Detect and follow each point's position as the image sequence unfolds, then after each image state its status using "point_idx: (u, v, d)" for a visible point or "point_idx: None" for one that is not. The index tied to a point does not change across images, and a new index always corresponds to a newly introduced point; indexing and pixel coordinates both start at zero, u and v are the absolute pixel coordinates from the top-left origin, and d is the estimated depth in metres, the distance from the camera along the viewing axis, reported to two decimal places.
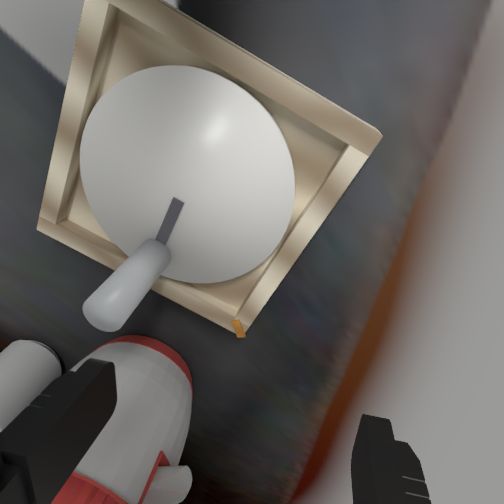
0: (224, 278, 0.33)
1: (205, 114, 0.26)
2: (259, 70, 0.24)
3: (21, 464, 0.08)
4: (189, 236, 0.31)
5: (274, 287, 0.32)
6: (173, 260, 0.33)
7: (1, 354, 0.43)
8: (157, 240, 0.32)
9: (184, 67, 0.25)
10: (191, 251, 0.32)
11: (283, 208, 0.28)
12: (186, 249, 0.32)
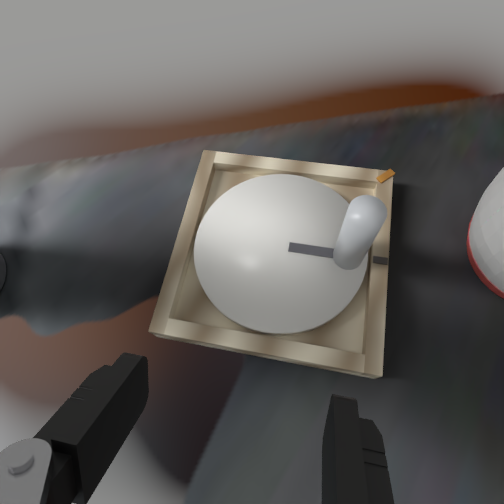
0: (342, 199, 0.39)
1: (220, 243, 0.38)
2: (186, 220, 0.39)
3: (70, 452, 0.09)
4: (316, 233, 0.37)
5: (330, 165, 0.41)
6: None
7: None
8: (332, 255, 0.36)
9: (195, 262, 0.37)
10: (330, 228, 0.38)
11: (265, 180, 0.41)
12: (330, 232, 0.37)
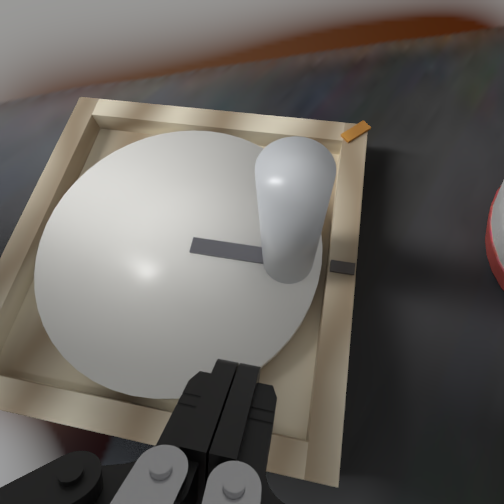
0: None
1: (81, 239, 0.23)
2: (34, 202, 0.24)
3: (198, 460, 0.09)
4: (240, 222, 0.23)
5: (270, 117, 0.26)
6: None
7: None
8: (261, 259, 0.21)
9: (35, 271, 0.22)
10: None
11: (167, 140, 0.26)
12: None
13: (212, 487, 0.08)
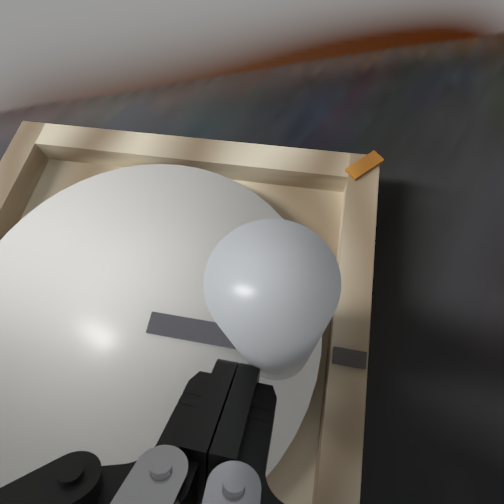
0: (273, 214, 0.19)
1: (8, 313, 0.18)
2: None
3: (199, 460, 0.09)
4: None
5: (255, 146, 0.21)
6: None
7: None
8: None
9: None
10: None
11: (126, 177, 0.20)
12: None
13: (212, 487, 0.08)
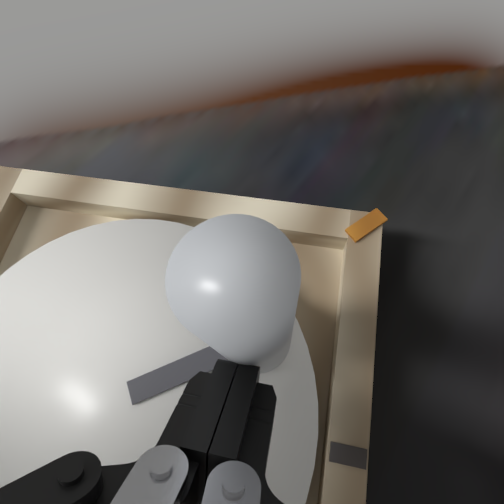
0: (187, 229, 0.19)
1: None
2: None
3: (199, 460, 0.09)
4: (173, 325, 0.17)
5: (248, 200, 0.19)
6: None
7: None
8: (227, 358, 0.16)
9: None
10: None
11: (21, 273, 0.18)
12: None
13: (212, 487, 0.08)
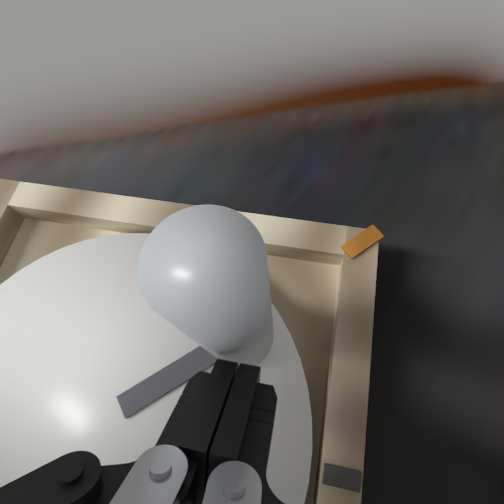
0: None
1: None
2: None
3: (198, 459, 0.09)
4: (157, 334, 0.17)
5: (244, 215, 0.19)
6: None
7: None
8: (214, 358, 0.16)
9: None
10: None
11: None
12: None
13: (212, 487, 0.08)
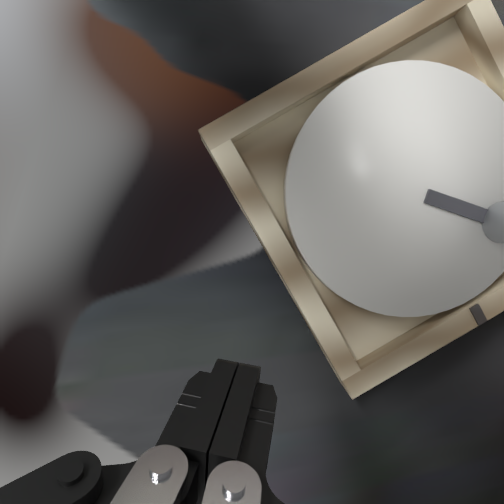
0: None
1: (327, 173, 0.25)
2: (359, 45, 0.24)
3: (198, 460, 0.09)
4: (469, 180, 0.25)
5: None
6: None
7: None
8: (483, 219, 0.25)
9: (287, 198, 0.25)
10: (489, 176, 0.25)
11: (412, 71, 0.25)
12: (487, 182, 0.26)
13: (212, 487, 0.08)
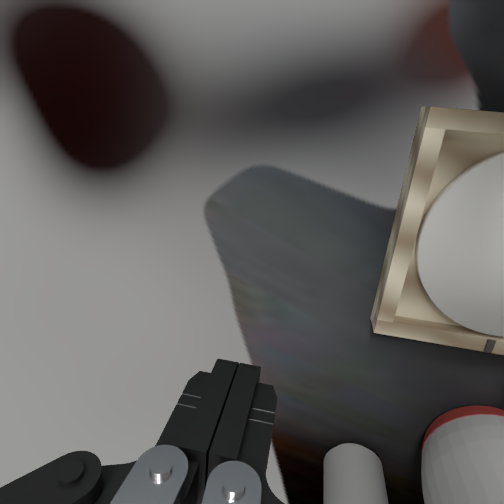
0: None
1: (486, 198, 0.31)
2: None
3: (198, 460, 0.09)
4: None
5: None
6: None
7: (334, 464, 0.45)
8: None
9: (444, 196, 0.31)
10: None
11: None
12: None
13: (212, 487, 0.08)
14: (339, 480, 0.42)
